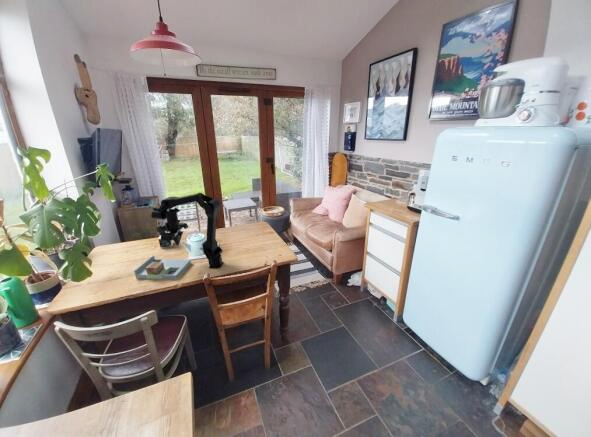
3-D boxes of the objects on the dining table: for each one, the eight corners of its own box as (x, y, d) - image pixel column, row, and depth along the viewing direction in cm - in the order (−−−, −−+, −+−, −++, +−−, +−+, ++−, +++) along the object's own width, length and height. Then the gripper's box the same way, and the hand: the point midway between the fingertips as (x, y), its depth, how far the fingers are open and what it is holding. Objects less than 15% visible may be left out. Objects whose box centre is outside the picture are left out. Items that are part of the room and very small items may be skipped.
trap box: (191, 263, 143) (189, 256, 141) (176, 279, 128) (175, 271, 126) (154, 262, 145) (152, 255, 143) (136, 278, 130) (133, 270, 128)
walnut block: (164, 268, 134) (162, 262, 132) (157, 274, 128) (155, 268, 127) (154, 267, 135) (152, 261, 133) (147, 274, 129) (145, 267, 128)
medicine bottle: (160, 248, 162) (156, 232, 158) (162, 243, 168) (159, 228, 164) (172, 246, 164) (168, 230, 159) (173, 242, 170) (170, 226, 166)
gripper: (168, 214, 143) (173, 237, 149) (147, 226, 126) (154, 252, 132) (186, 214, 143) (190, 237, 148) (168, 226, 125) (174, 252, 131)
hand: (177, 244), depth 140 cm, fingers closed
